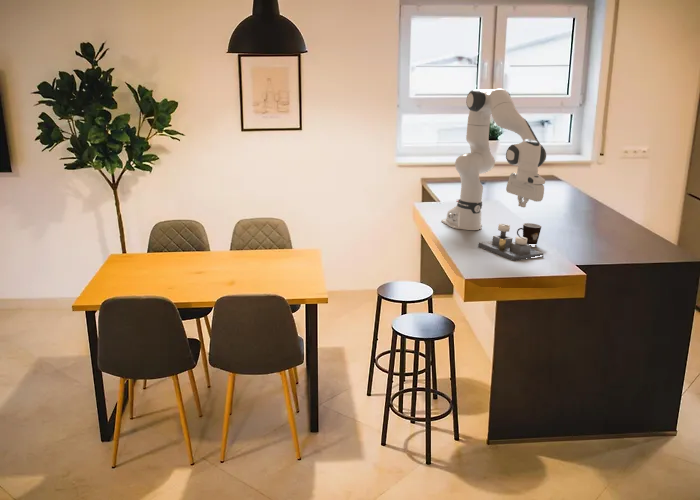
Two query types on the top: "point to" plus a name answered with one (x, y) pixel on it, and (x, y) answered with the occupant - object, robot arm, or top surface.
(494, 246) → the mount plate
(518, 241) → the knob
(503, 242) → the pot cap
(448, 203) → the top surface
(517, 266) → the top surface
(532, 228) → the coffee mug
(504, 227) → the knob
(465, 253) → the top surface
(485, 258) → the top surface
